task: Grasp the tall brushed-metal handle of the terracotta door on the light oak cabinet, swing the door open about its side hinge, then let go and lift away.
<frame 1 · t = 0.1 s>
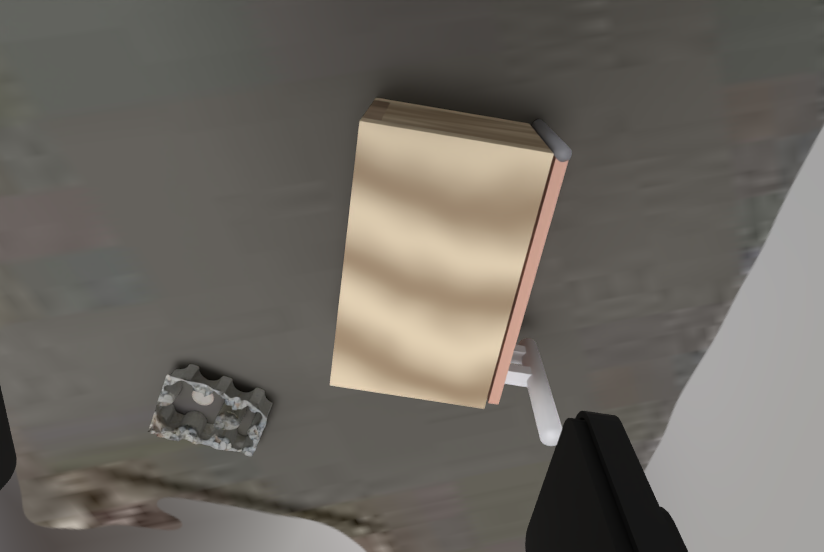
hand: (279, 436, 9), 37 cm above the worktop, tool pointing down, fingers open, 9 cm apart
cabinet: (430, 229, 47), on the worktop
egg carton: (221, 397, 56), on the worktop
door: (543, 281, 40), point 8 cm above the worktop, hinge at 0.0°
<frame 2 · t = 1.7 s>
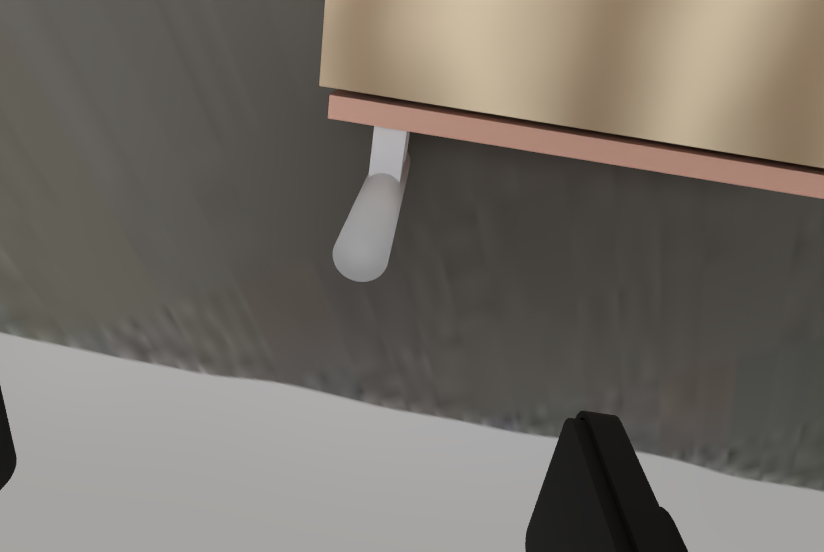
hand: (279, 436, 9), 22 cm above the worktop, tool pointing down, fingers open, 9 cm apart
door: (586, 182, 22), point 8 cm above the worktop, hinge at 0.0°
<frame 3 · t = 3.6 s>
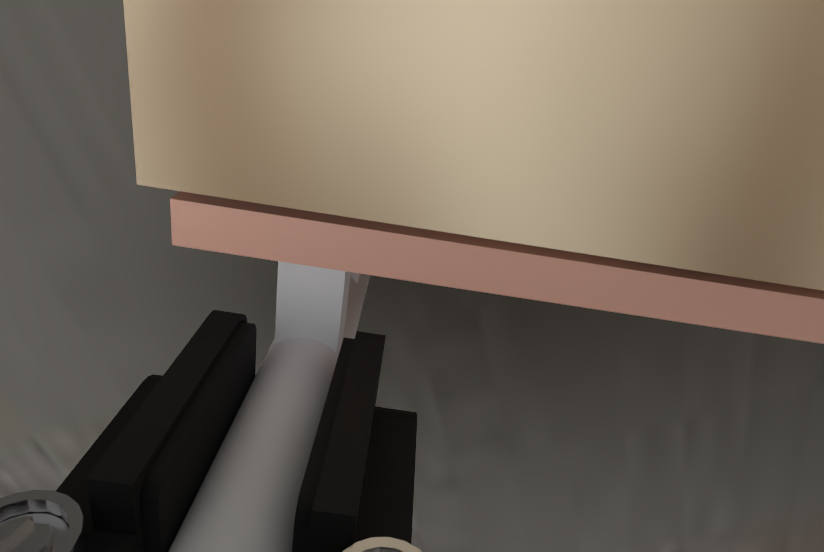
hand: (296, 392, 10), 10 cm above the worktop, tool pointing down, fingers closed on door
door: (694, 337, 11), point 8 cm above the worktop, hinge at 0.0°, touching gripper
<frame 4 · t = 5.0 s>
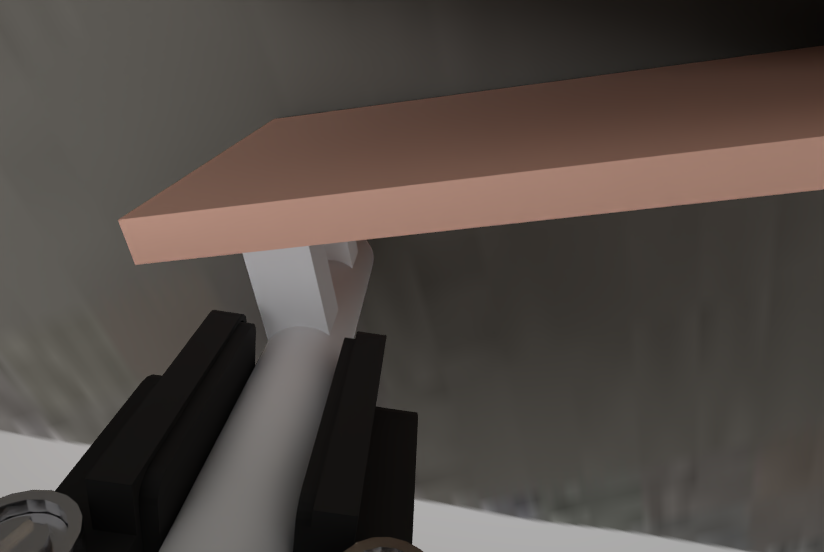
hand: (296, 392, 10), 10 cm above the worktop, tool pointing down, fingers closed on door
door: (707, 227, 10), point 8 cm above the worktop, hinge at 15.6°, touching gripper
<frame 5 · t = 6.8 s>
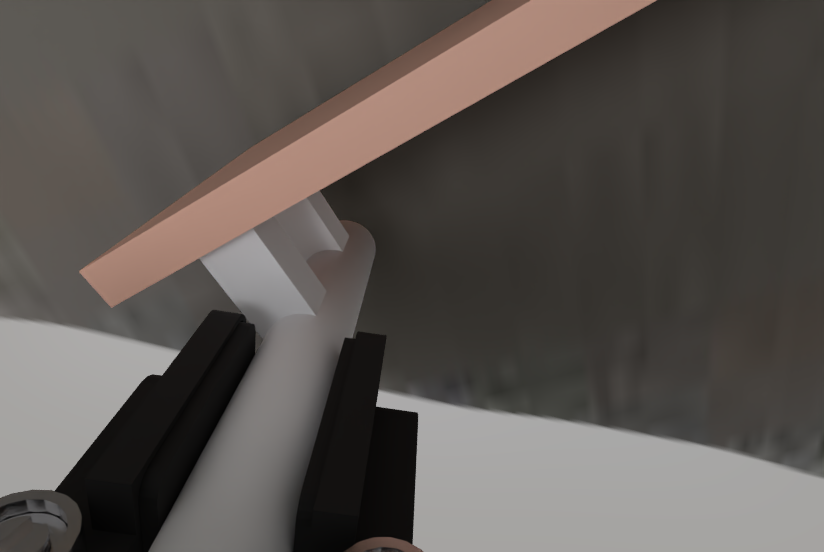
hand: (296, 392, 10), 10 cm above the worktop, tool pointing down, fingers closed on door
door: (664, 61, 9), point 8 cm above the worktop, hinge at 37.9°, touching gripper
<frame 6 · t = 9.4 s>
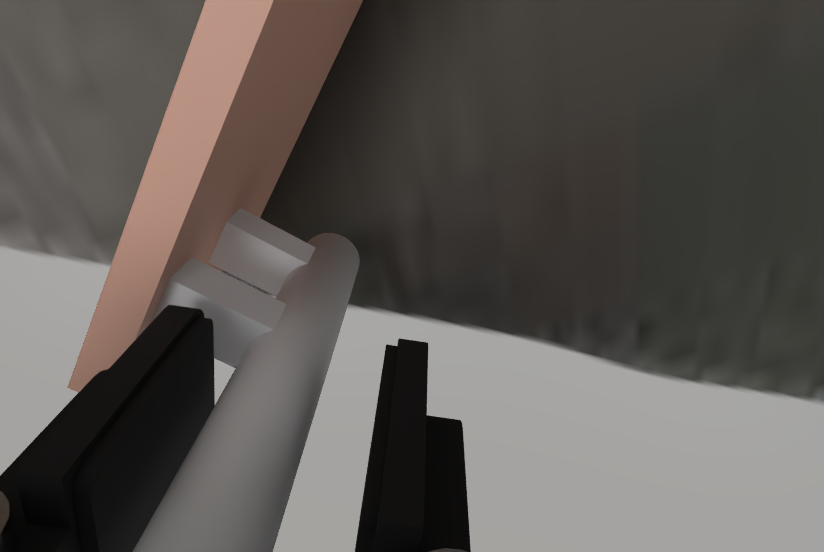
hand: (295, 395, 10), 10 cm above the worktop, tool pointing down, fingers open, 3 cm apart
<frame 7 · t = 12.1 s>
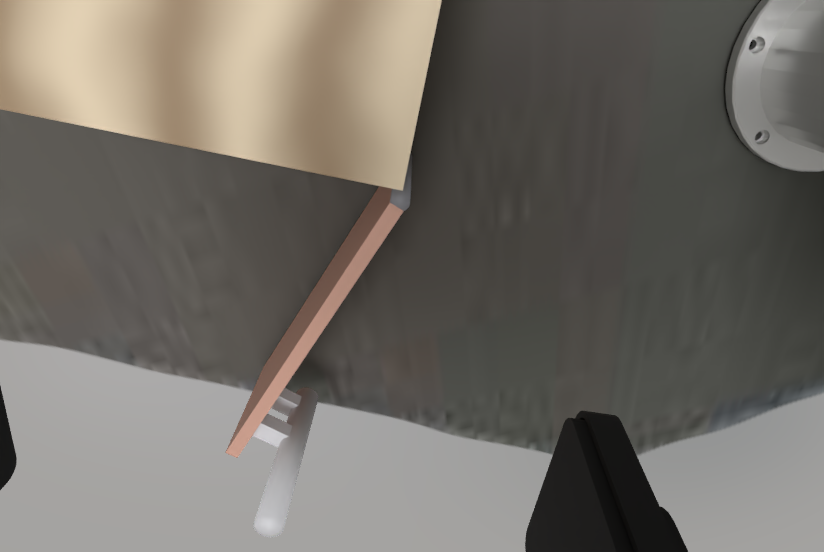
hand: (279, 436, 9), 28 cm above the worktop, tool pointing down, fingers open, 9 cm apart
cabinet: (259, 9, 32), on the worktop
door: (338, 336, 32), point 8 cm above the worktop, hinge at 68.7°
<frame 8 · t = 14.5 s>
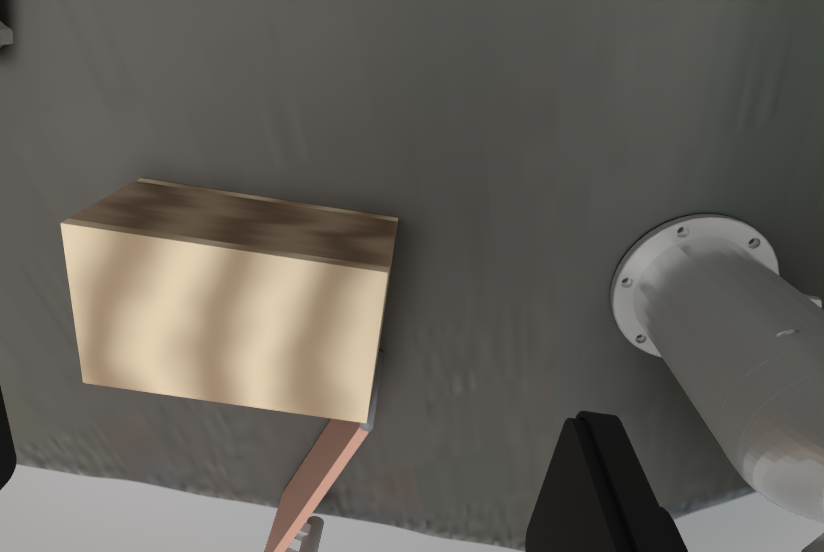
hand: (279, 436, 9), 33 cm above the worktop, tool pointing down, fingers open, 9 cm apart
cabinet: (268, 267, 45), on the worktop
door: (332, 496, 45), point 8 cm above the worktop, hinge at 68.7°
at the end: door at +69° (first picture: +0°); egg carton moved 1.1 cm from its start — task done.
